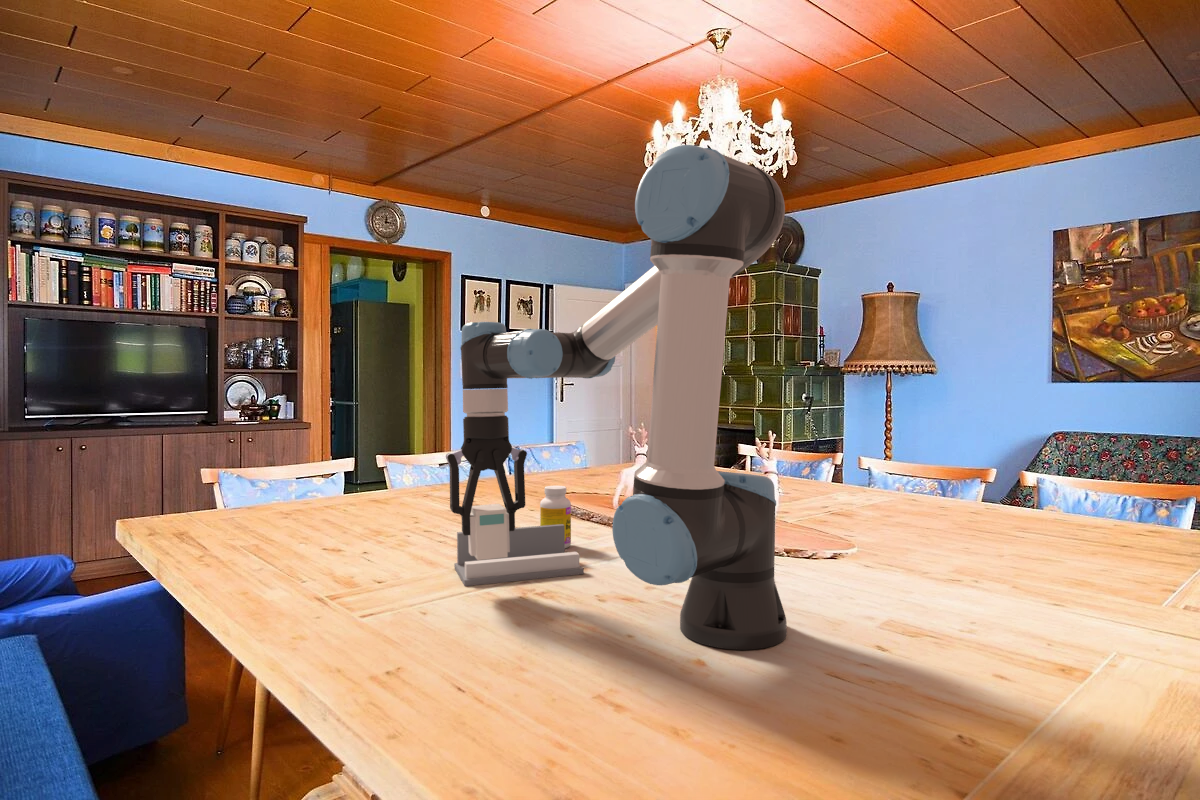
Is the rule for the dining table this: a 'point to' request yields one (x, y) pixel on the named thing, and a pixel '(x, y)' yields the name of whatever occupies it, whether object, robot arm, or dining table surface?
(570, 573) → the rail base
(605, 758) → the dining table surface
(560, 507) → the supplement bottle
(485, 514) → the block
